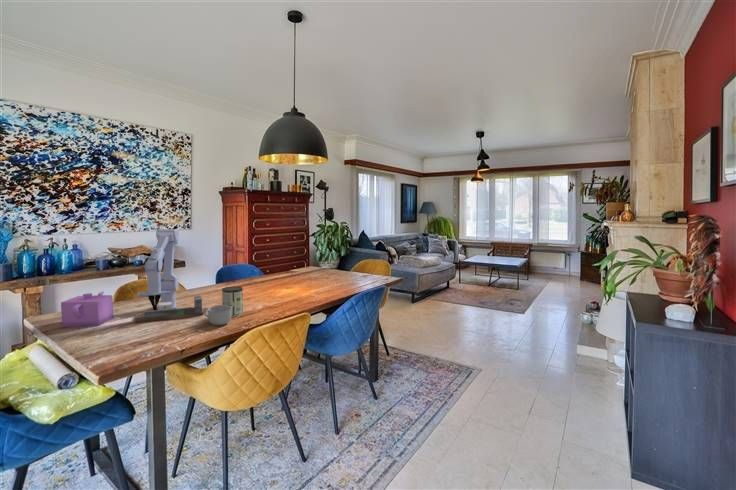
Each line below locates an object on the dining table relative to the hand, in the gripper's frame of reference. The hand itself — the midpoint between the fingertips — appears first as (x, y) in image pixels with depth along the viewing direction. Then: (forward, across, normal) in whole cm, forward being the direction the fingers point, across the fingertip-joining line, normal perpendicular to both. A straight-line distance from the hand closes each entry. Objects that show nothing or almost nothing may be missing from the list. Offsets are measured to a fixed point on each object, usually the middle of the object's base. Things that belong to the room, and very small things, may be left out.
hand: (155, 309), depth 182 cm
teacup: (+4, +27, -23) cm, 36 cm away
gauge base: (+4, +7, 0) cm, 8 cm away
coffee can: (+4, +36, -10) cm, 37 cm away
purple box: (+4, -27, +5) cm, 28 cm away
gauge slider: (+2, +5, -1) cm, 5 cm away
